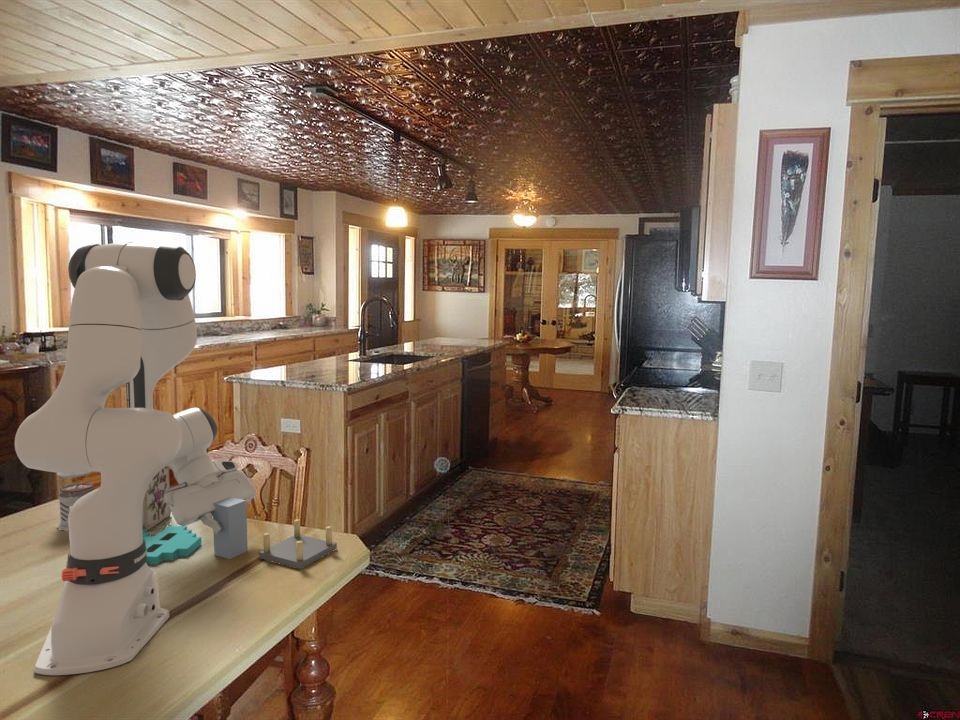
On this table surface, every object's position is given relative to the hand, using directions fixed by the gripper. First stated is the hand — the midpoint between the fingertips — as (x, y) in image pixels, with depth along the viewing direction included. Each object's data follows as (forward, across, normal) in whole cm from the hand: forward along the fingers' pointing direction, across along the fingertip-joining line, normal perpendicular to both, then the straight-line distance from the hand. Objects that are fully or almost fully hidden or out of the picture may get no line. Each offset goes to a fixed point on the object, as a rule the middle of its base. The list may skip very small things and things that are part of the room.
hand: (232, 526), depth 141 cm
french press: (-31, -5, +40) cm, 51 cm away
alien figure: (-8, -7, +18) cm, 21 cm away
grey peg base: (+14, +7, -5) cm, 16 cm away
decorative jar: (-21, +2, +31) cm, 37 cm away
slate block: (+4, 0, +5) cm, 6 cm away
